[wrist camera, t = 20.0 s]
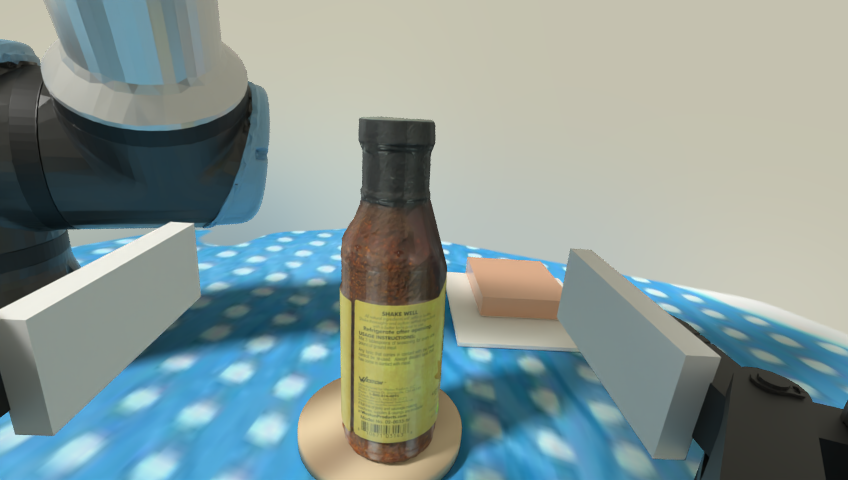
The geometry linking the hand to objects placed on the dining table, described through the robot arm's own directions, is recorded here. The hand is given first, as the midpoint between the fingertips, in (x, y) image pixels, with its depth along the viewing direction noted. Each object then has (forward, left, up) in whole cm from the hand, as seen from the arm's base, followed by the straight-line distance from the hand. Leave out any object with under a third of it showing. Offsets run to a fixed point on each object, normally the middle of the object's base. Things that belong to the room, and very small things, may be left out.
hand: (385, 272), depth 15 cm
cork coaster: (-5, +9, -16) cm, 19 cm away
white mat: (-3, +34, -16) cm, 37 cm away
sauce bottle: (-4, +8, -15) cm, 17 cm away
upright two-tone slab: (-1, +30, -14) cm, 34 cm away
